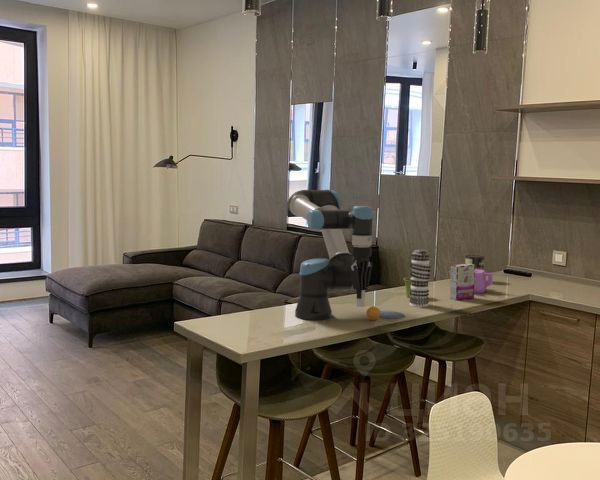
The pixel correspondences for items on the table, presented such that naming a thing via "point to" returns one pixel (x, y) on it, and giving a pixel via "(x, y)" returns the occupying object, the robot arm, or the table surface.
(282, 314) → the table surface
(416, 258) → the decorative candle
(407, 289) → the plant pot
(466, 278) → the candy bar box
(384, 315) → the disc
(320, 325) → the table surface
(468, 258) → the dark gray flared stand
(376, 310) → the ball
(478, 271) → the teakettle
